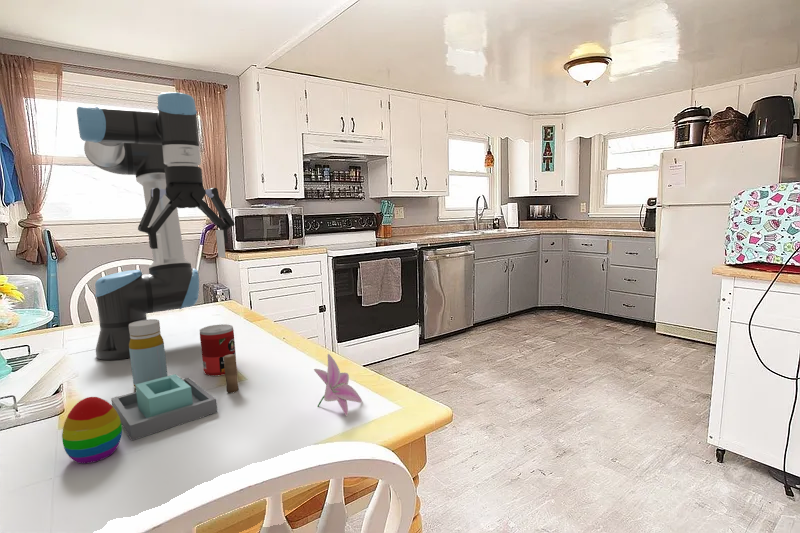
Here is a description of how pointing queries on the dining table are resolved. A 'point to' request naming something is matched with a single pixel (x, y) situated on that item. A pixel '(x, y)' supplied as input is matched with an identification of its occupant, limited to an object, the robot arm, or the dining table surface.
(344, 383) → the lily
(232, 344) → the canned food
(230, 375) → the post
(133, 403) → the tray
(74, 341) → the dining table surface
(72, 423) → the decorative egg
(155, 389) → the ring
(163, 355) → the bottle
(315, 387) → the dining table surface
